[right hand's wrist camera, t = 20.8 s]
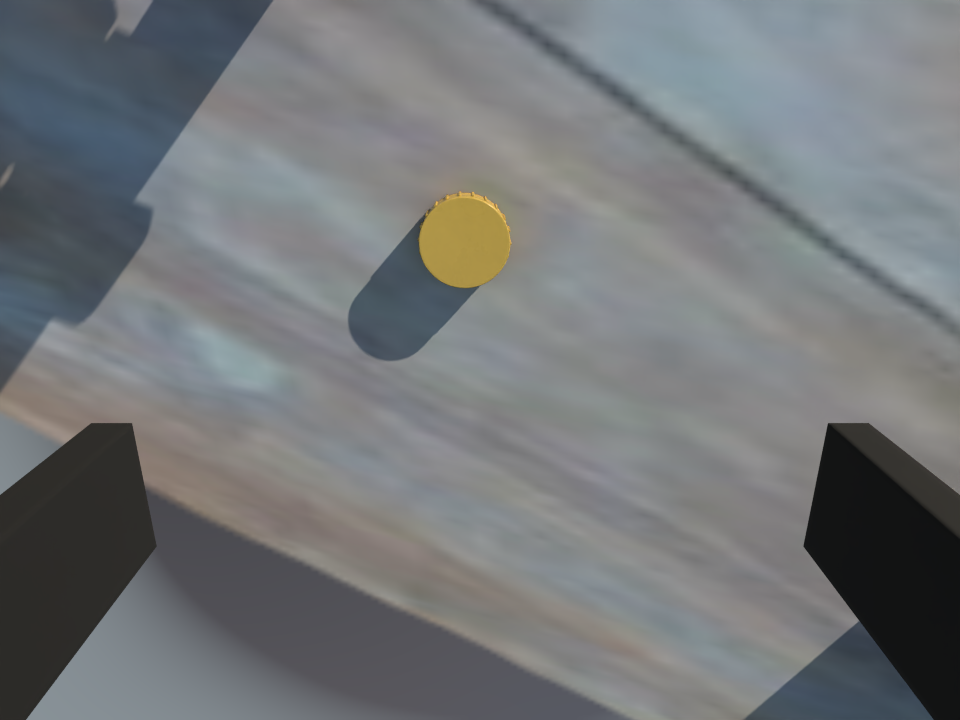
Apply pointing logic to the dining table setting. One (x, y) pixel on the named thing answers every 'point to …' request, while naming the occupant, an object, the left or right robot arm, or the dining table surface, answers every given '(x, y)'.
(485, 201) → the lid
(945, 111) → the dining table surface
